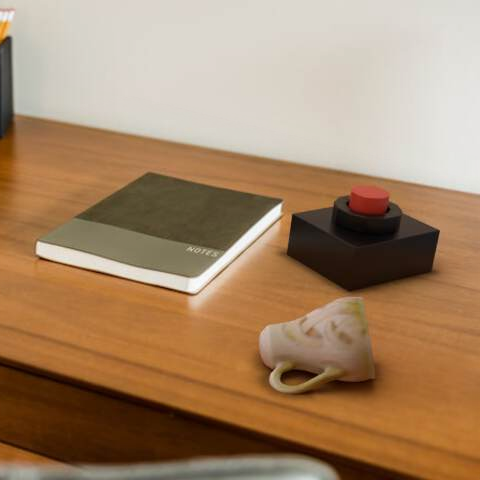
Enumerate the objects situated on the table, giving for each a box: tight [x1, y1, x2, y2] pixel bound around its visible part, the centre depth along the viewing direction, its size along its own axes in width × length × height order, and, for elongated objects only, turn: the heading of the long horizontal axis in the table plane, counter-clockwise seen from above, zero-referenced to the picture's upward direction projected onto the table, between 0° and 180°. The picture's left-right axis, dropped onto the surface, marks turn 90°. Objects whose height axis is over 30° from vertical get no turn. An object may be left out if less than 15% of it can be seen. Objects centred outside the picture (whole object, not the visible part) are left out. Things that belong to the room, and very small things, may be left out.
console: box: [286, 194, 441, 293], centre depth 97 cm, size 12×10×7 cm
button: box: [349, 184, 391, 214], centre depth 96 cm, size 4×4×2 cm
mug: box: [258, 296, 376, 395], centre depth 76 cm, size 8×10×10 cm
